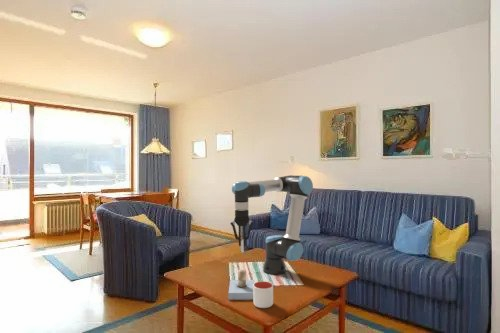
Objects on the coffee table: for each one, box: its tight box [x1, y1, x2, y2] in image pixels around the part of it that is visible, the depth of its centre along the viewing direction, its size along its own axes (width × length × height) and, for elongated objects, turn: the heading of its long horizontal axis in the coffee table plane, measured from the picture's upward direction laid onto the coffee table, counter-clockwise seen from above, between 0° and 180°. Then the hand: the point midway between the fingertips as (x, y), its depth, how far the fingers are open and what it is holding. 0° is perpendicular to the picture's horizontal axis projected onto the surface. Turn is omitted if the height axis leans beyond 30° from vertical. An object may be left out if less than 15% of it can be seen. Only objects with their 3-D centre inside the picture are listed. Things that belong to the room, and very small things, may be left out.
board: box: [227, 279, 255, 301], centre depth 172 cm, size 14×18×4 cm
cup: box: [252, 280, 274, 309], centre depth 157 cm, size 10×10×10 cm
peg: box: [237, 269, 247, 288], centre depth 172 cm, size 4×4×12 cm
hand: (242, 251), depth 172 cm, fingers closed
